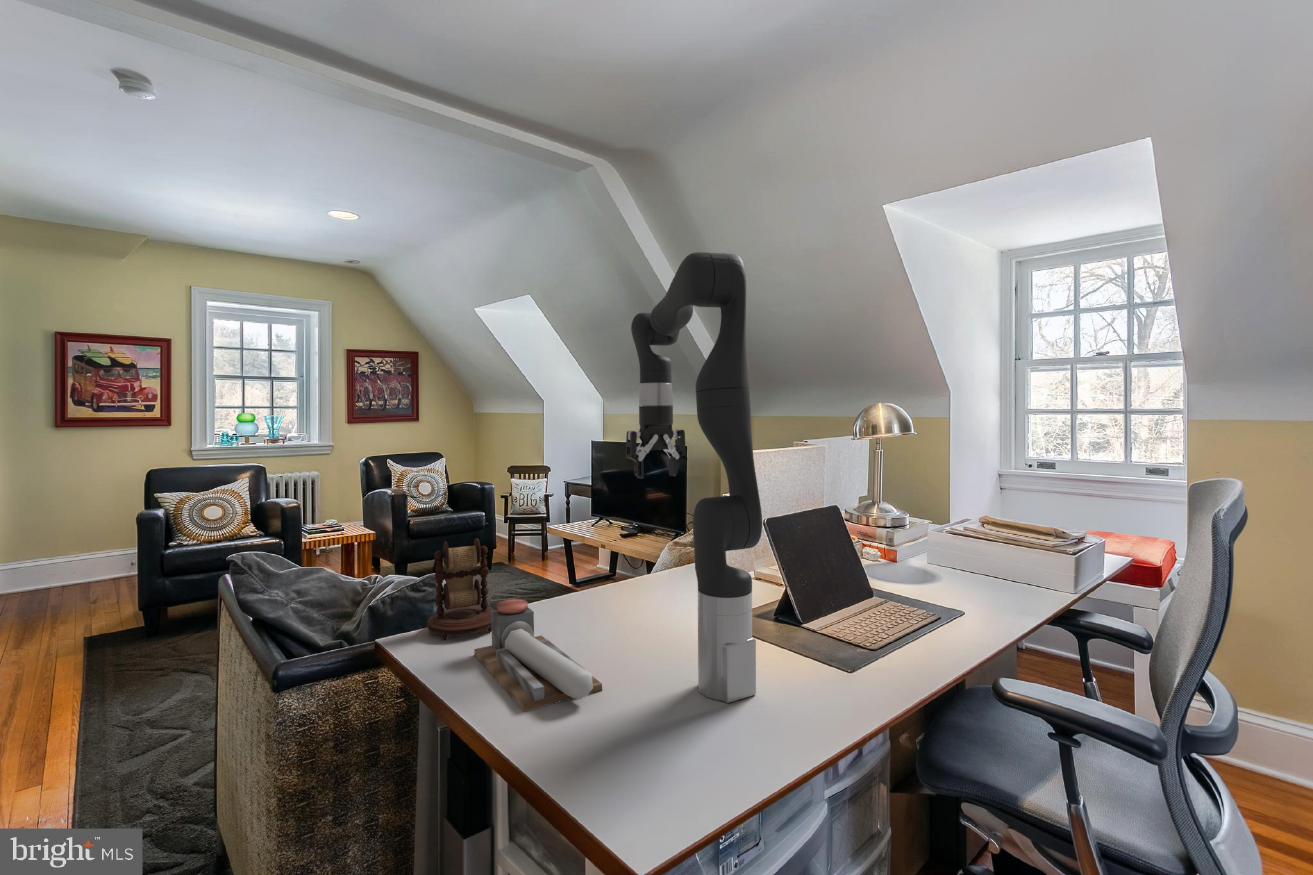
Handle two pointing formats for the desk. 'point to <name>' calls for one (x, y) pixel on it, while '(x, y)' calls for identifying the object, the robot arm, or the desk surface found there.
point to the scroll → (461, 592)
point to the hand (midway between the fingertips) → (656, 477)
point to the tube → (549, 664)
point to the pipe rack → (510, 671)
